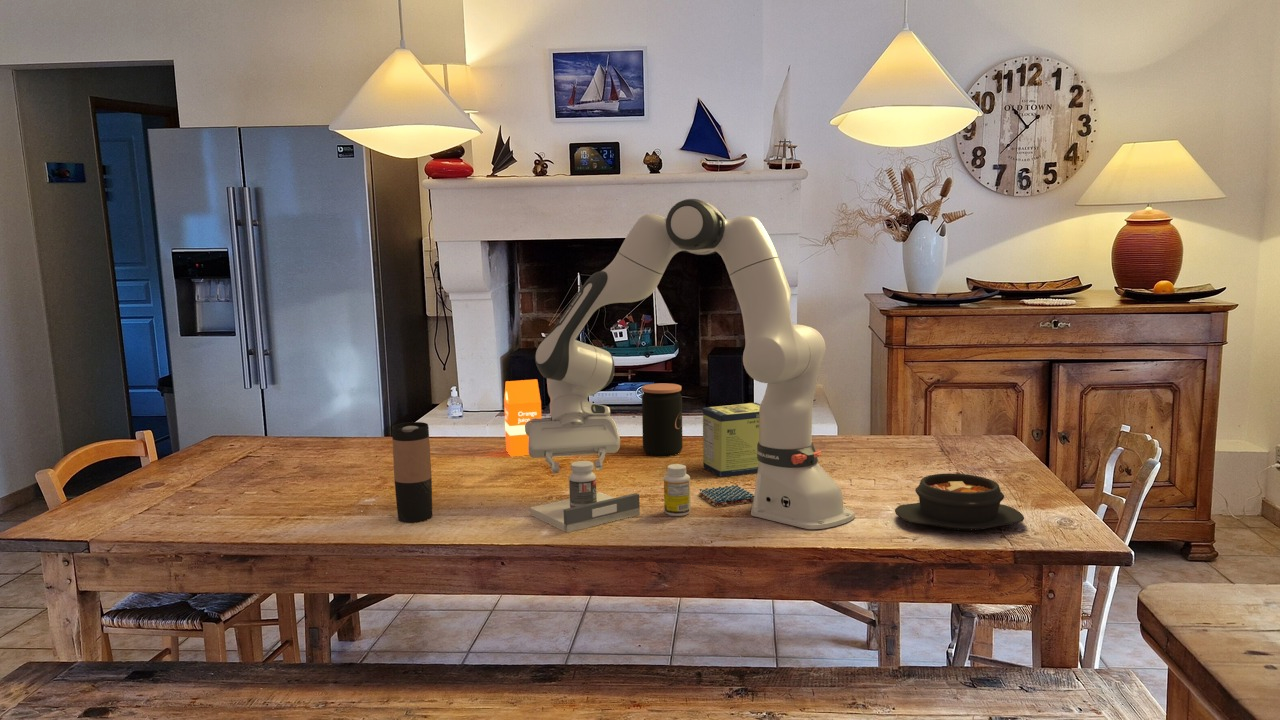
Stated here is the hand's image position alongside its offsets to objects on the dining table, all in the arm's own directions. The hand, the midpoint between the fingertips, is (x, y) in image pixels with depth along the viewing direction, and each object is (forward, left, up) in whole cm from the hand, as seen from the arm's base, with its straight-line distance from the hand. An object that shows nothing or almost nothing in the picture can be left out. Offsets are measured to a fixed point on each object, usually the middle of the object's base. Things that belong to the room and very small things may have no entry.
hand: (577, 470), depth 201 cm
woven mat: (-15, -30, -9) cm, 35 cm away
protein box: (+2, -49, -9) cm, 50 cm away
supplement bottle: (-16, -15, -9) cm, 23 cm away
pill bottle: (-5, +2, -7) cm, 9 cm away
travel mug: (+17, +30, -9) cm, 36 cm away
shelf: (-4, +1, -9) cm, 10 cm away
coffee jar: (+28, -45, -9) cm, 54 cm away
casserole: (-57, -55, -9) cm, 79 cm away
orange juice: (+52, -16, -9) cm, 55 cm away
